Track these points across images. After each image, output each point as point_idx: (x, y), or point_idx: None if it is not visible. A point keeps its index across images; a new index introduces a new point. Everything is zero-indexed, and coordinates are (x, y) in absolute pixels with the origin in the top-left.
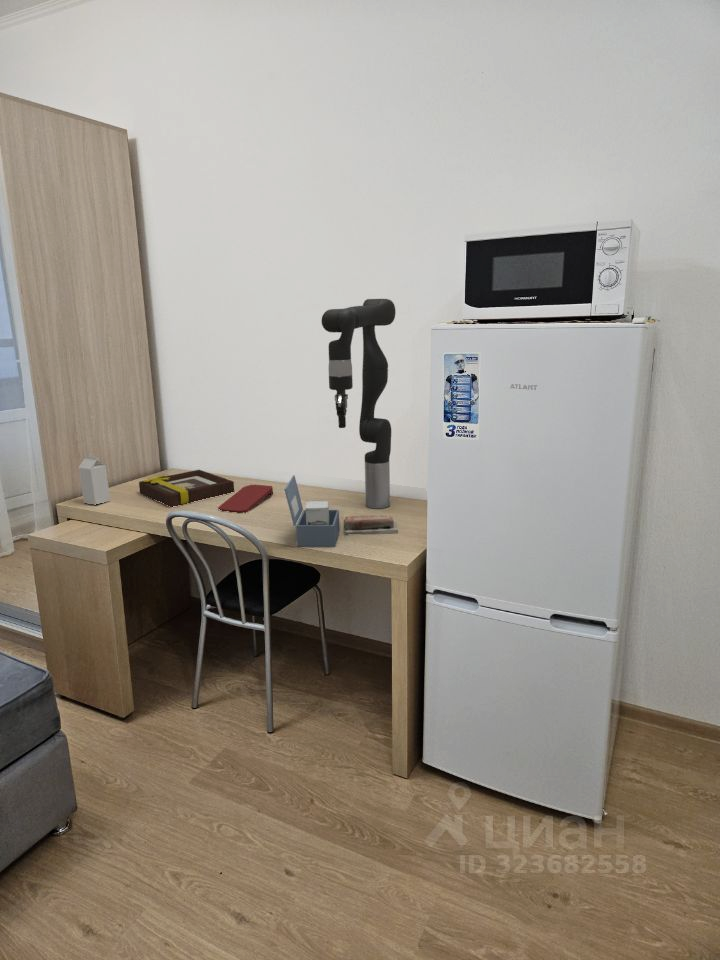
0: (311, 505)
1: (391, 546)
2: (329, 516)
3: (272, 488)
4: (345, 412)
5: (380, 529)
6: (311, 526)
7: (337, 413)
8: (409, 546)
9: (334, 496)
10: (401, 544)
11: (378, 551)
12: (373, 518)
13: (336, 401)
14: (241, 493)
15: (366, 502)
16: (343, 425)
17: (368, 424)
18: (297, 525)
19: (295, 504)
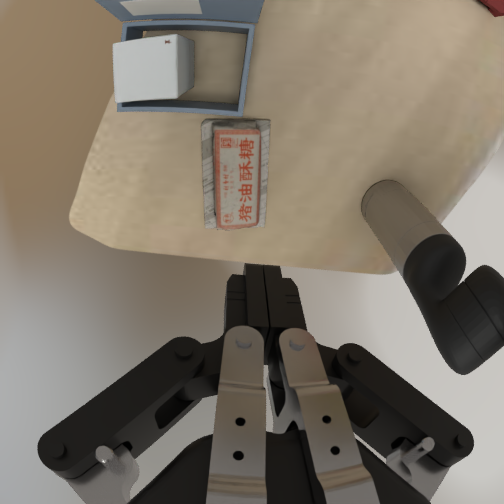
0: (131, 55)
1: (136, 209)
2: (240, 89)
3: (499, 13)
4: (269, 392)
5: (212, 196)
6: None
7: (150, 358)
8: (138, 237)
9: (462, 127)
10: (147, 226)
11: (112, 187)
12: (224, 192)
13: (208, 479)
14: None
15: (386, 184)
16: (225, 302)
17: (483, 325)
18: (125, 25)
19: (170, 5)
